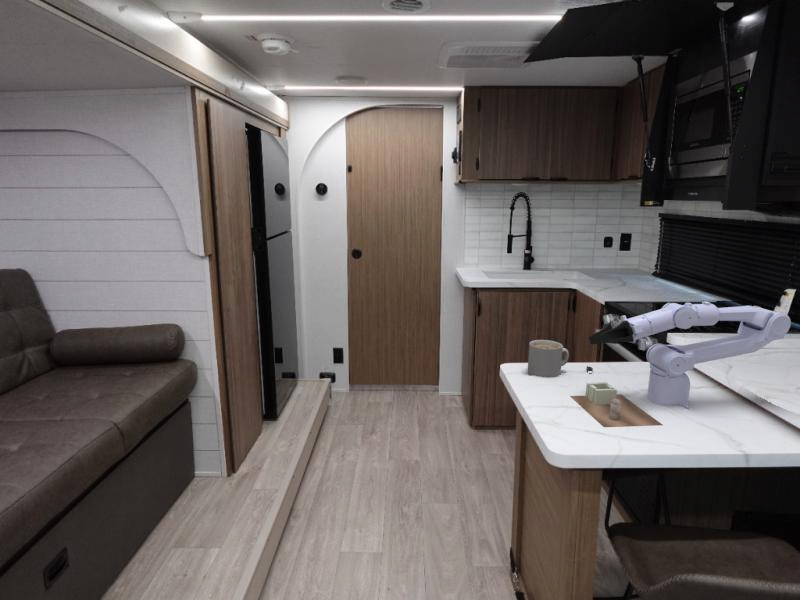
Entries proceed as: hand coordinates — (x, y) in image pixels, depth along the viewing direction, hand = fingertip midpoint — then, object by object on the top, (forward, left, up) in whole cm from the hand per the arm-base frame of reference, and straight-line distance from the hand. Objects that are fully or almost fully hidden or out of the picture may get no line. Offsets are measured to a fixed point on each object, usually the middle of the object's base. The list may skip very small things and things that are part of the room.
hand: (595, 339), depth 130 cm
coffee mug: (+2, -24, -18) cm, 30 cm away
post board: (-4, +5, -18) cm, 19 cm away
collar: (-3, -1, -17) cm, 18 cm away
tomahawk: (-11, -18, -19) cm, 28 cm away
